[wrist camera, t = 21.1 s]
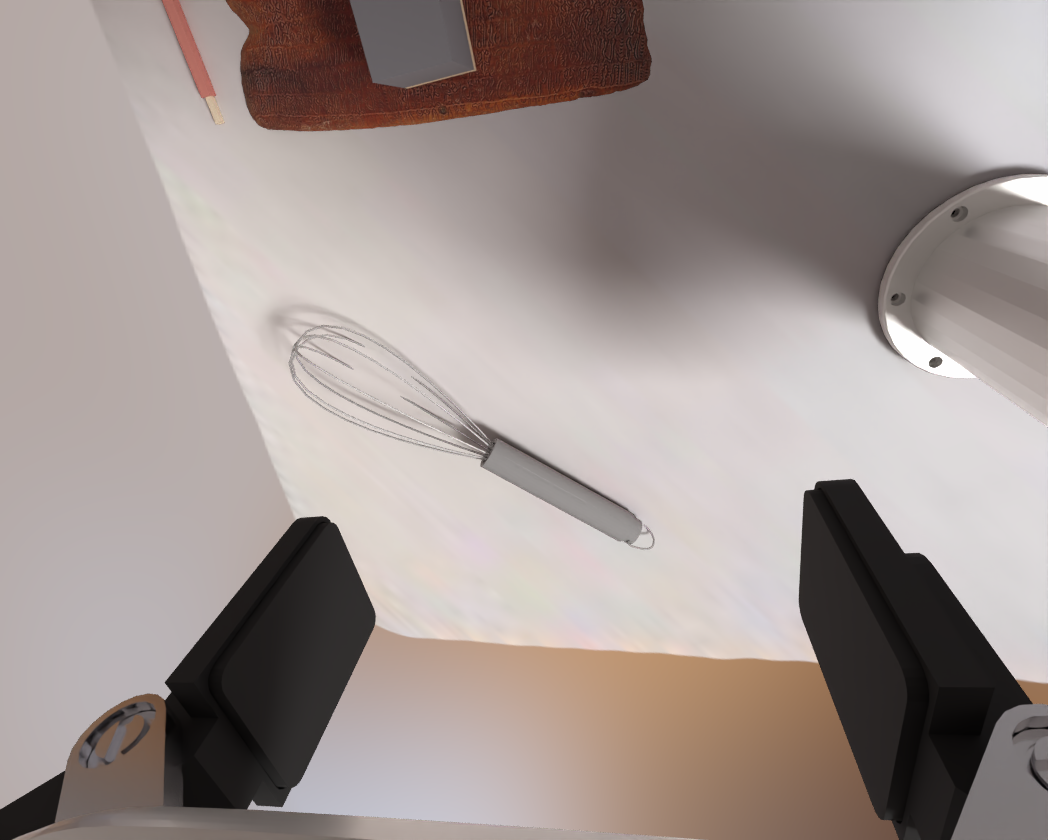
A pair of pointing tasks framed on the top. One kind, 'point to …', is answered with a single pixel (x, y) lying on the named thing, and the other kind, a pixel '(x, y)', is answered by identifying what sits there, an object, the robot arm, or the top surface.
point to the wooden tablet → (497, 84)
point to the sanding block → (414, 40)
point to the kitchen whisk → (501, 459)
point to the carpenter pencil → (192, 56)
